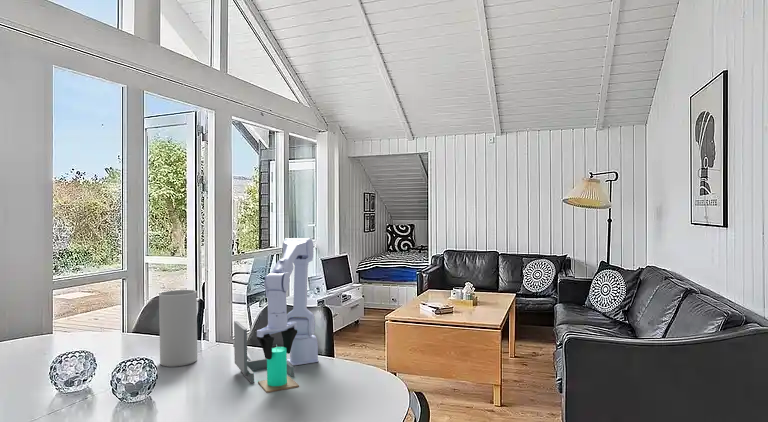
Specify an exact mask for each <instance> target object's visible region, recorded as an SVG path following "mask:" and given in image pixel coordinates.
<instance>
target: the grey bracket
mask: <svg viewBox="0 0 768 422" xmlns="http://www.w3.org/2000/svg"><path fill="white" fill-rule="evenodd" d="M233 331H234V332H233V335H234V337H233V342H232V343H233V345H232V346H233V349H234V364H235V365H236V367H237V368H238V370H240V372H241V373H242V374H243V376H244V377H245V378H246V379H247V380H248V381H249V383H251V384H253V383H255V373H254V371H256V370H263V369H267V359H265V358H261V359H255V360H254V359H251V358H250V357H249V356H248V329H247V328H246V327H245V326H244V325H243V324H241V323H240V322H239V321H238V320H234V321H233ZM287 375H289V377H294V376H295V366H293V365H292V364H291V363H289V362H288V361H287Z"/></svg>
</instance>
